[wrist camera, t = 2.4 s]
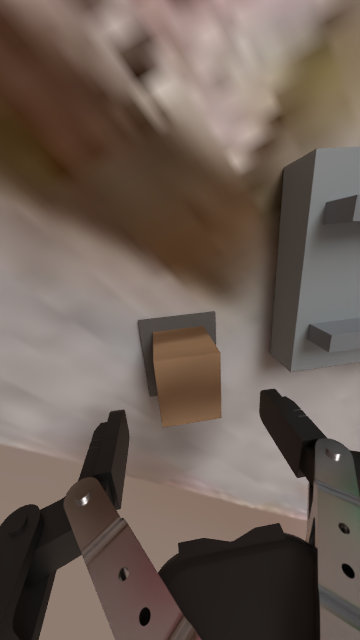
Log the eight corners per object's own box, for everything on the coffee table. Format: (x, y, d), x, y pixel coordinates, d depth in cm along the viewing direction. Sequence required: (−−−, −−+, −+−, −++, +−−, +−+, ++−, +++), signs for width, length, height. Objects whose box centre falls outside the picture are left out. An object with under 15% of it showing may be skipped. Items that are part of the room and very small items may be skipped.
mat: (138, 320, 16) (138, 321, 16) (214, 311, 17) (215, 312, 17) (149, 394, 19) (149, 396, 19) (216, 384, 19) (216, 386, 19)
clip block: (153, 331, 17) (153, 361, 12) (203, 325, 17) (220, 352, 13) (160, 385, 18) (162, 427, 14) (205, 378, 19) (221, 417, 14)
